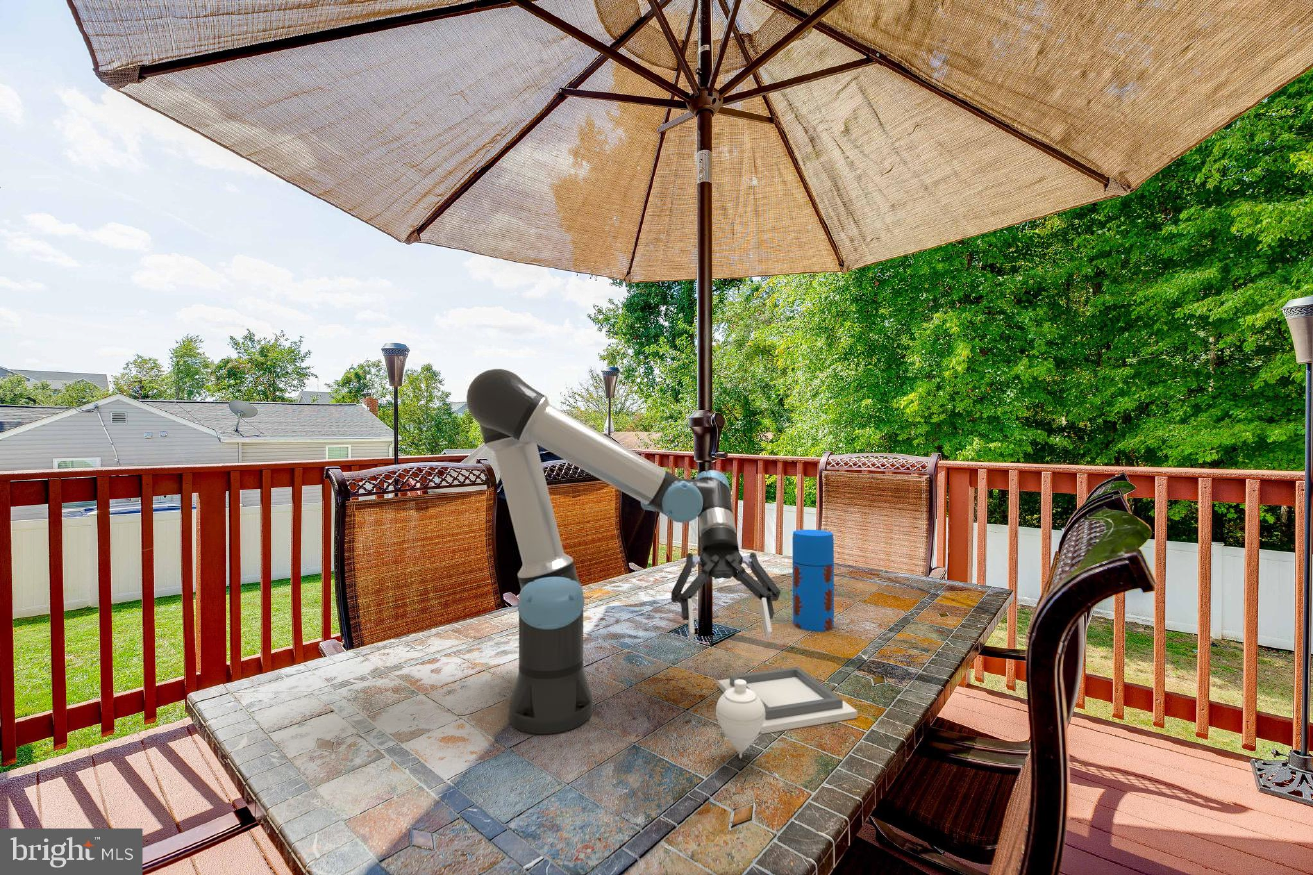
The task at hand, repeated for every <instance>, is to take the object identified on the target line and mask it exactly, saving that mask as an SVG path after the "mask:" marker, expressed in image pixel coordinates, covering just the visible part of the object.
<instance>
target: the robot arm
mask: <svg viewBox="0 0 1313 875" xmlns="http://www.w3.org/2000/svg"><path fill="white" fill-rule="evenodd" d="M466 406H467V409H468V412H469V413H470V415H471V417H472V418H473V419H474V420H475V421H476V422H477V423H478V424H479V428H480V432H481V435H482V438H483V443H484V446H485V447H486V448H488V449H490V450H491V451H493V452H494V454H495V459H496V463H497V466H498V471H499V475H500V478H501V482H502V486H503V490H504V495H505V499H506V503H507V506H508V510H509V516H510V520H511V523H512V526H513V532H514V535H515V539H516V542H517V546H518V547H517V548H518V551H519V555H520V558H521V562H522V566H521V568H520V569H519V570H518V572H517V578H518V582H519V586H520V592H519V595H518V596H519V597H518V601H517V611H518V674H517V678H516V680H515V684H514V687H513V690H512V693H511V696H510V700H509V703H508V721H509V723H510V725H511V726H512V727H514V728H515V729H517V730H518V731H521V732H524V733H529V734H534V735H536V734H537V735H551V734H559V733H562V732H568V731H570V730H573V729H575V728H577V727H579V726H581V725H583V724H585V723H586V722H587V721H588V720H590V718H591V716H592V715H593V713H594V698H593V697H594V696H593V694H592V691H591V689H590V684H589V681H588V678H587V675H586V672H585V669H584V608H585V597H584V590H583V586H582V583H581V582H580V580H579V577H578V573H577V570H576V566H575V563H574V558H573V557H572V556H570V555H568V554H566V553H565V552H564V548H563V545H562V540H561V537H560V532H559V527H558V525H557V520H556V517H555V512H554V508H553V503H552V501H551V496H550V493H549V488H548V484H547V481H546V477H545V473H544V468H543V464H542V463H543V462H542V460H541V456H540V452H539V449H538V446H539V447H541V448H543V449H545V450H546V451H548V452H550V453H553V455H555V456H557V457H560V458H561V459H563V460H565V461H567V462H569V463H570V464H572V465H574V466H575V467H578V468H579V469H581V470H583V471H585V472H586V473H589V474H590V475H592V476H594V477H596V478H598V479H599V480H600V481H604V482H605V483H606V484H609V485H610V486H612V487H614V488H616V489H618V490H619V491H621V492H623V493H625V494H627V495H629V496H630V497H632V498H634V499H636V500H637V501H639V502H640V506H641V508H642V509H643V510H647V511H652V512H659V513H660V514H662V515H665V516H666V517H667V519H669V520H671V521H673V522H675V523H682V524H684V523H686V524H687V523H689V522H692V521H694V520H695V519H697V523H698V530H699V543H700V553H701V554H700V556H698V555H697V556H695V555H694V554H693V553H691V552H688V553H686V560H685V564H684V566H683V568H682V570H681V572H680V574H679V577H678V578H677V580H676V582H675V584H674V586H673V588H672V589H671V590H672V591H671V594H670V600H671V602H673V603H679V604H680V606H681V607H680V608H681V618H682V621H687V624H688V638H689V641H691V640H694V638H695V632H696V631H695V621H694V620H695V619H694V608H693V605H694V604H693V597H694V596H695V595H696V593H697V592H698V591H699V590H700V589H701V588H702V587H703V585H705V583H706V582H708V581H709V579H710V578H711V577H712V578H714V580H720V579H724V580H725V579H726V580H729V579H731V578H734V580H736V581H737V582H740V583H741V584H742V585H743V586H744V587H745V588H746V589H748V591H749V592H751V593H752V595H754V596H755V597H756V598H758V600H760V603H759V609H760V615H761V621H762V627H763V633H764V639H770V638H771V636H772V632H773V629H772V623H771V620H773V618H774V614H775V611H774V605H773V602H778V600H779V598H780V596H781V590H780V589H779V587H778V586H777V584H776V583H775V582H774V581H773V579H772V578H771V577H770V575H769V574H768V573H767V571H766V570H765V569H764V567H763V566H762V564H761V563H760V562H759V559H758V557H757V554H756V552H754V551H753V552H751V553H749V555H742V554H741V553H740V548H739V542H738V535H737V528H736V522H735V515H734V511H733V510H734V509H733V503H732V502H733V501H732V491H731V489H730V485H729V482H728V478H727V476H726V475H725V474H724V473H723V472H720V471H718V470H714V469H709V470H707V471H705V470H704V471H701V472H700V473H698V475H697V476H696V477H695V478H694V479H688V478H682V477H679V476H677V475H675V474H673V473H672V472H670V471H667V470H666V469H664V468H663V467H661V466H659V465H657V464H656V463H654V462H652V461H650V460H648V459H647V458H645V457H643V456H642V455H639V454H638V453H636V452H635V451H633V450H631V449H629V448H628V447H626V446H624V445H623V444H621V443H619V442H617V441H615V440H613V439H611V438H609V437H608V436H606V435H604V434H602V433H601V432H599V431H598V430H595V429H594V428H592V427H590V426H589V425H587V424H585V423H583V422H581V421H579V420H578V419H577V418H575V417H572V416H571V415H569V414H567V413H566V412H564V411H562V410H560V409H559V408H557V407H555V406H553V405H552V404H550V401H549V399H548V396H546V395H545V394H543V393H541V392H540V391H538V390H537V389H535V388H533V387H532V386H530V385H529V384H528V383H527V382H526V381H524V379H522V378H521V377H520V376H519V375H517V374H516V373H514V372H512V371H510V370H508V369H503V368H494V369H493V368H492V369H488V370H485V371H483V372H481V373H479V374H478V375H477V376H475V378H474V379H473V380H472V381H471V383H470V384H469V386H468V389H467V390H466ZM743 564H745V565H746V566H747V568H748V569H749V568H750V571H751V572H752V574H753V575H754V576H755V578H754V577H753V576H752V575H751V574H750V573H748V572H747V571H746V569H745V568H744V567H743V566H742V565H743ZM697 565H700V566H701V567H702V569H701V571H700V573H699V574H698V575H696V577H695V579H693V581H691V583H690V584H689V585H688V586H687V588H686V589H685V590H684V591H683V589H684V588H685V585H686V583H687V581H688V579H689V577H690V575H691V574H692V570H693V569H695V568H696V567H697Z"/></svg>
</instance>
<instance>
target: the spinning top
mask: <svg viewBox="0 0 1313 875" xmlns="http://www.w3.org/2000/svg"><path fill="white" fill-rule="evenodd" d="M746 684H747V682H746V681H745V680H742V679H738V680H735V681H734V685H735V687H734V688H730V689H728V690H726V691H725V692H722V695H721V696H720V697H719V699H718V700H717V703H716V707H715V713H716V714H715V715H716V718H717V721H718V722H717V723H719V726H720V728H721V730H722V732H723V734H724V735H725V737H726V738H727V739H728V741H729V742H730V744H731V745H732V747H733V748H734V749H735V751H737V752H738V754H739V759H742V758H743V753H745V751H746V750H747V749H748V748H749V747H750V746H751V745H752V744H753V742H754V740H755V739H756V738H757V736H759V734H760V730H761V728H762V726H763V724H764V721H765V708H764V705H763V703H762V701H761V699H760V698H759V697H758V696H757V694H756V693H755V692H754V691H752V690H750V689H748V688H746Z"/></svg>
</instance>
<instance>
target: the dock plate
mask: <svg viewBox="0 0 1313 875" xmlns="http://www.w3.org/2000/svg"><path fill="white" fill-rule="evenodd" d="M738 679H742V680H745V681H746V682H747V684H746V688H748V689H750V690H752V691H754V692H755V693H756V694H757V696H758V697H759V698H760V699H761V701H762V703H763V705H764V708H765V721H764V724H763V726H762V728H761V730H760V732H759V734H762V735H763V734H769V733H775V732H781V731H787V730H792V729H798V728H804V727H810V726H817V725H823V724H828V723H835V722H840V721H847V720H852V719H858V710H857V709H855V708H854V707H853V706H851V705H850V704H848V703H847V702H846V701H844V700H843V699H842V698H841V697H840V696H838V695H837V694H836V693H835V692H833V691H831V690H830V689H829V688H827V687H826V686H825V685H823V684H822V683H821V682H819V681H818V680H817V679H815V678H814V677H812V676H811V675H810V674H808V673H807V672H806V671H804V670H803V669H802V668H800V667H799V666H792V667H784V668H783V667H782V668H777V669H771V670H770V669H769V670H763V671H762V670H761V671H755V672H747V673H739V674H731V675H729V678H727V679H720V680H717V687H718V689H720V691H721V692H722V693H724V692H725V691H726V690H728V689H730V688H734V687H735V685H734V681H735V680H738Z"/></svg>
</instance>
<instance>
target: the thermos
mask: <svg viewBox="0 0 1313 875" xmlns="http://www.w3.org/2000/svg"><path fill="white" fill-rule="evenodd" d="M791 544H792V545H791V546H792V547H791V548H792V618H793V623H792V624H793V625H794V626H795V627H796V628H797V629H801V630H804V631H807V632H808V631H809V632H820V633H821V632H828V631H831V630H832V629H833V628H834V619H835V569H834V568H835V562H834V561H835V560H834V559H835V557H834V556H835V550H834V548H835V545H834V544H835V542H834V534H833V532H832V531H828V530H820V529H798V530H793V532H792V543H791Z"/></svg>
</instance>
